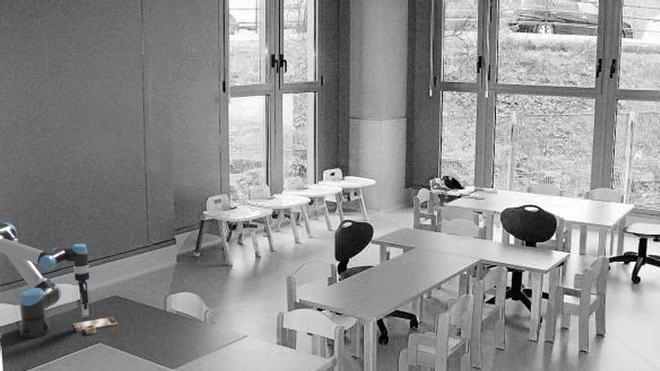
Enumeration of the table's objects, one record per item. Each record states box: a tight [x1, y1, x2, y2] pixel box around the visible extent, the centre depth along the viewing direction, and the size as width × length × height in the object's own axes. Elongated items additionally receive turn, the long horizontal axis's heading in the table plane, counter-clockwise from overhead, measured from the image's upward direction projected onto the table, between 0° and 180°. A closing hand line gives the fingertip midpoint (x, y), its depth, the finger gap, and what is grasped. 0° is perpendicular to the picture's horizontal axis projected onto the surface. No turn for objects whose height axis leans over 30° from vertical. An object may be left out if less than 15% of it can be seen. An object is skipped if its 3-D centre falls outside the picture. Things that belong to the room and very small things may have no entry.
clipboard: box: [72, 316, 119, 333], centre depth 446 cm, size 22×14×1 cm, turn 116°
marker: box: [79, 292, 90, 320], centre depth 442 cm, size 4×4×14 cm
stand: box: [84, 325, 97, 335], centre depth 434 cm, size 5×5×3 cm
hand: (85, 313), depth 443 cm, fingers closed on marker, 3 cm apart
